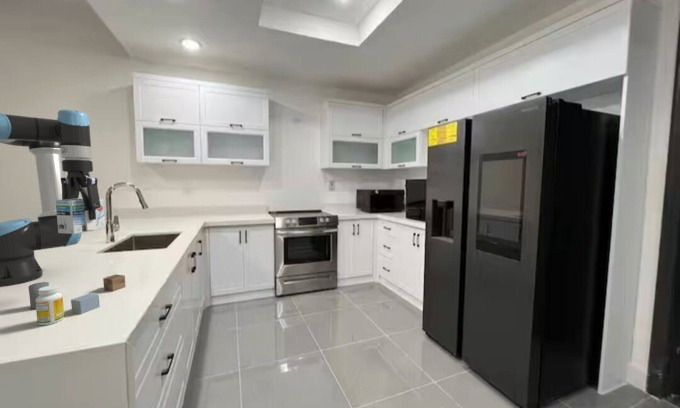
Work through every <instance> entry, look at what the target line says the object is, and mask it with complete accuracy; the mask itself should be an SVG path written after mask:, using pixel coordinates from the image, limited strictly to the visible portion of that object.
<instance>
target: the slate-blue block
mask: <svg viewBox="0 0 680 408" xmlns="http://www.w3.org/2000/svg"><path fill="white" fill-rule="evenodd" d="M70 304H71V305H70V306H71V313H74V314H78V315H83V314H86V313H89V312H91V311H93V310H95V309H98V308H100V306H101V305H100V296H99V294H96V293H90V292H89V293H86V294H83V295H81V296H78V297H75V298H72V299H70Z"/></svg>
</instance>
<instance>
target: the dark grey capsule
mask: <svg viewBox="0 0 680 408" xmlns="http://www.w3.org/2000/svg"><path fill="white" fill-rule="evenodd" d="M46 286H50V283H49V281H43V282H42V281H41V282H37V283H33V284H30V285H29V286H28V295H29V296H28V297H29V304H30V305H29V306H30V310H31V311H32V310H33V311H35V310H36V298H37V297H39V296H40V295H39V294H38V290H39V289H40V288H42V287H46Z"/></svg>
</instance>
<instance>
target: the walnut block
mask: <svg viewBox="0 0 680 408" xmlns="http://www.w3.org/2000/svg"><path fill="white" fill-rule="evenodd" d="M102 281H103V290H104V291H106V292H107V291H108V292H117V291H119V290H121V289H123V288H126V276H125V275H123V274H112V275H110V276H106V277H103V278H102Z"/></svg>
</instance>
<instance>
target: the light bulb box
mask: <svg viewBox="0 0 680 408" xmlns="http://www.w3.org/2000/svg"><path fill="white" fill-rule="evenodd" d="M99 199H100V206H101V207H100V208H97V209H96V210H95V212H96V229H94V230H88V231H87V230H86V225H85V213H84V209H86V207H85V204H84V201H83V198H82V197H78V198H77V199H64V200H56V210H57V222H58V233H68V234H76V233H87V232H94V231H99V230H105V229H106V217H105V215H106V214H105V203H104V202H105V200H104V198H103V197H99Z"/></svg>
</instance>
